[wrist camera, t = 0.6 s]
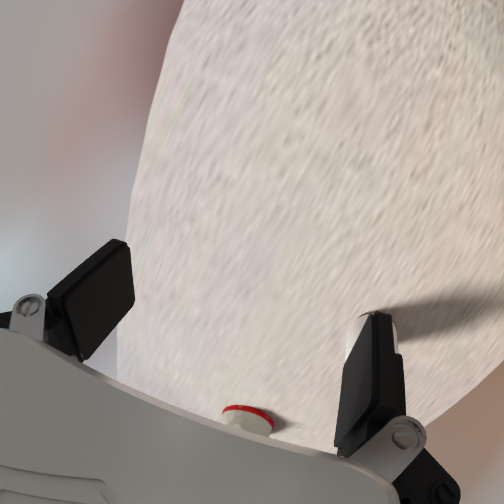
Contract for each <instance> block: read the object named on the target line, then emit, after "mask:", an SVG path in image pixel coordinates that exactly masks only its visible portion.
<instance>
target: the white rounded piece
mask: <svg viewBox="0 0 504 504" xmlns="http://www.w3.org/2000/svg"><path fill="white" fill-rule="evenodd" d="M220 423H222V424H225V425H228V426H231V427H235V428H238V429H241V430H244V431H248V432H251V433H254V434H258V435H261V436H265V437H269V435H270V433H271V431H272V428H273V421H272V419H271V418H270V417H269V416H268V415H267V414H265V413H263V412H262V411H260V410H257V409H255V408H252V407H248V406H243V405H232V406H228V407H226V408H225V409H224V410H223V413H222V415H221V420H220Z"/></svg>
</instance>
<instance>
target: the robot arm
mask: <svg viewBox="0 0 504 504" xmlns="http://www.w3.org/2000/svg"><path fill="white" fill-rule="evenodd" d="M47 296H48V298H47V299H46V300H45V299H44V298H43V297H42V296H40V295H37V294H29V295H25V296H23V297H21V298H20V299H19V300H17V302H16V303H15V304H14V307H13V310H12V311H10V312H4V313H0V504H459V501H460V489H459V485H458V484H457V483H456V481H455V480H454V479H453V478H452V477H451V476H450V475H449V474H448V473H447V472H446V471H445V469H444V468H443V467H442V466H441V465H440V464H439V463H438V462H437V461H436V460H435V459H434V458H433V457H432V456H431V455H430V453H429V452H428V451H427V450H426V449H425V448H424V446H425V444H426V439H427V437H426V431H425V429H424V427H423V426H422V424H421V423H420V422H419V421H418V420H416V419H415V418H412V417H410V416H406V401H405V383H404V370H403V359H402V355H401V354H398V353H395V346H394V335H393V325H392V317H391V315H390V314H386V313H382V312H378V311H376V312H375V313H374V315H373V314H369V316H368V317H367V320H366V322H365V324H364V326H363V328H362V330H361V332H360V334H359V336H358V338H357V340H356V342H355V344H354V346H353V348H352V350H351V352H350V354H349V356H348V358H347V360H346V362H345V364H344V368H343V374H342V384H341V393H340V402H339V410H338V418H337V425H336V432H335V439H334V447H338V451H337V455H335V454H331V453H327V452H323V451H319V450H315V449H312V448H307V447H303V446H299V445H295V444H291V443H287V442H283V441H279V440H276V439H272V438H269V437H265V436H261V435H258V434H254V433H251V432H248V431H244V430H241V429H238V428H235V427H231V426H228V425H225V424H222V423H219V422H216V421H213V420H210V419H208V418H205V417H202V416H199V415H197V414H194V413H191V412H188V411H186V410H183V409H181V408H178V407H175V406H173V405H170V404H168V403H165V402H163V401H161V400H158V399H156V398H154V397H151V396H149V395H147V394H144V393H142V392H140V391H138V390H135V389H133V388H131V387H129V386H127V385H125V384H122V383H120V382H118V381H116V380H114V379H112V378H110V377H108V376H106V375H104V374H102V373H100V372H98V371H96V370H94V369H92V368H90V367H88V366H86V365H84V364H83V363H82V362H83V361H84V360H87V359H89V358H90V357H91V355H92V354H93V353H94V352H95V351H96V349H97V348H98V347H99V346H100V344H101V343H102V342H103V341H104V340H105V338H106V337H107V336H108V335H109V334H110V332H111V331H112V330H113V329H114V328H115V327H116V325H117V324H118V323H119V322H120V321H121V319H122V318H123V317H124V316H125V315H126V314H127V312H128V311H129V310H130V309H131V308H132V307H133V305H134V302H135V294H134V285H133V276H132V265H131V254H130V248H129V247H128V246H127V243H126V242H123V241H120V240H117V239H112V240H110V241H109V242H107V243H106V244H105V245H104V246H103V247H101V248H100V249H99V250H97V251H96V252H95V253H94V254H93V255H91V256H90V257H89V258H88V259H86V260H85V261H84V262H83V263H82V264H80V265H79V266H78V267H77V268H76V269H74V270H73V271H72V272H71V273H70V274H68V275H67V276H66V277H65V278H64V279H63V280H62V281H60V282H59V283H58V284H57V285H56V286H55V287H54V288H53V289H51V290H50V291H49V292H48V293H47ZM341 456H343V457H341Z"/></svg>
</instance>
